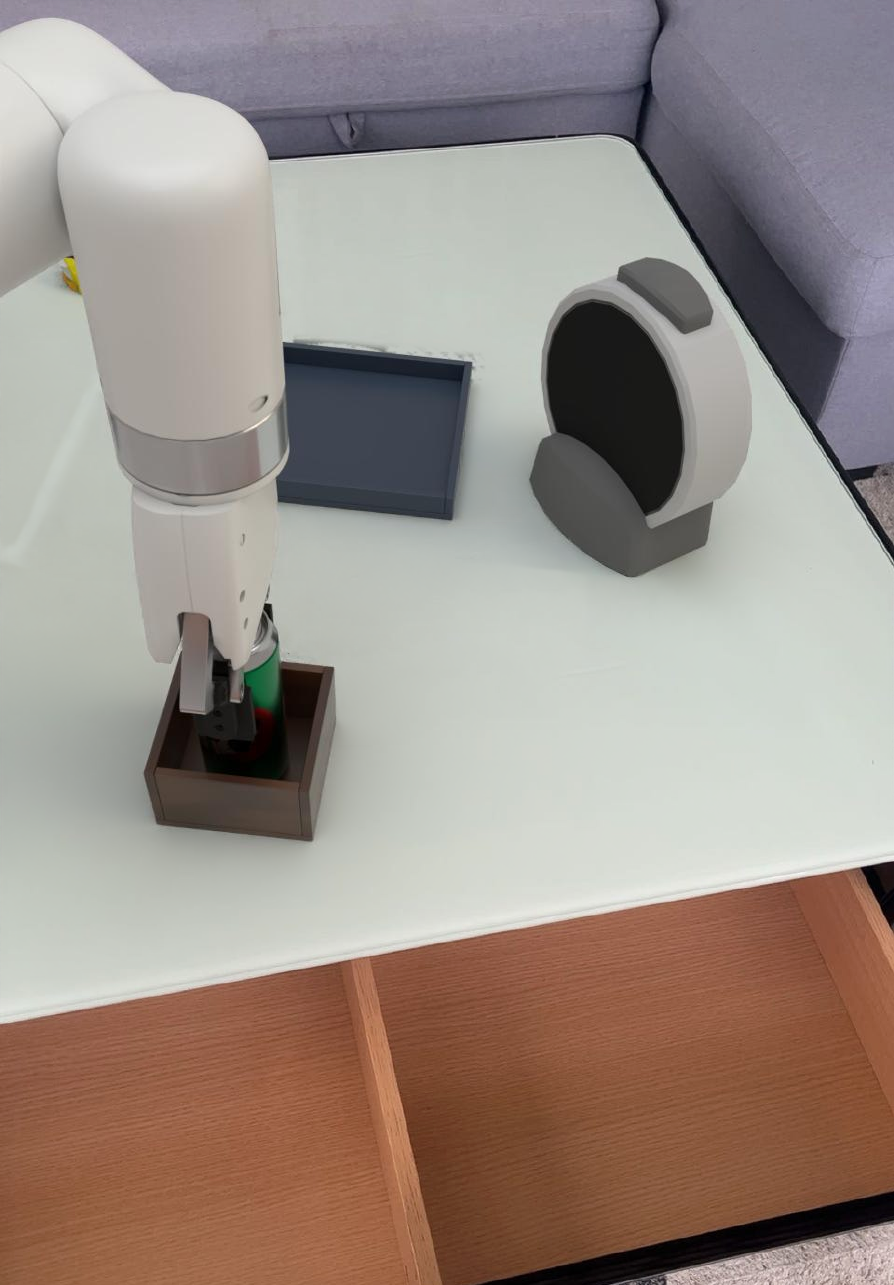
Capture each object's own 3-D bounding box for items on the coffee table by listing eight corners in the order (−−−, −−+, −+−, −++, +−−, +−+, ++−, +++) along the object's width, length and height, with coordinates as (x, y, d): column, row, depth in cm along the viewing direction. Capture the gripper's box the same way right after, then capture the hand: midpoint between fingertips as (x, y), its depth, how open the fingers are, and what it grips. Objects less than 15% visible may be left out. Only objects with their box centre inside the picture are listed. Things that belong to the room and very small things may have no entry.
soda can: (307, 763, 71) (297, 626, 62) (244, 812, 69) (224, 678, 59) (249, 717, 73) (231, 577, 63) (187, 764, 71) (158, 626, 61)
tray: (229, 496, 85) (226, 474, 84) (270, 362, 95) (268, 339, 93) (452, 520, 85) (453, 498, 83) (470, 383, 94) (472, 361, 93)
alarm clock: (497, 468, 89) (523, 234, 74) (604, 425, 92) (649, 194, 77) (631, 603, 81) (689, 373, 66) (741, 550, 85) (820, 321, 70)
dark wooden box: (156, 824, 69) (142, 773, 65) (191, 703, 74) (180, 649, 70) (312, 841, 69) (309, 792, 65) (336, 719, 74) (334, 666, 70)
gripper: (160, 298, 56) (203, 577, 71) (56, 549, 46) (132, 811, 61) (318, 315, 56) (328, 590, 70) (248, 570, 46) (277, 827, 61)
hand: (237, 690), depth 65 cm, fingers closed on soda can, 5 cm apart
